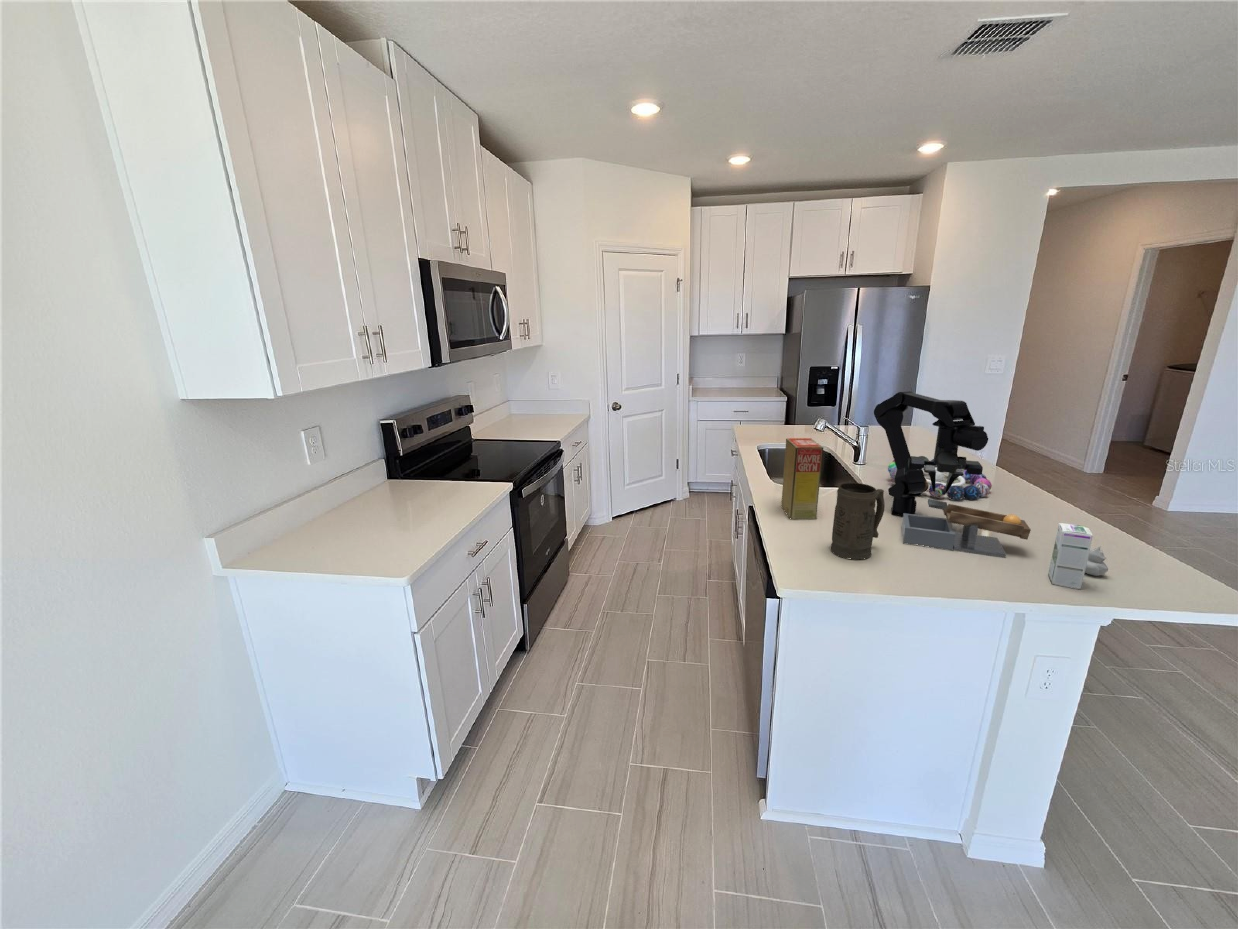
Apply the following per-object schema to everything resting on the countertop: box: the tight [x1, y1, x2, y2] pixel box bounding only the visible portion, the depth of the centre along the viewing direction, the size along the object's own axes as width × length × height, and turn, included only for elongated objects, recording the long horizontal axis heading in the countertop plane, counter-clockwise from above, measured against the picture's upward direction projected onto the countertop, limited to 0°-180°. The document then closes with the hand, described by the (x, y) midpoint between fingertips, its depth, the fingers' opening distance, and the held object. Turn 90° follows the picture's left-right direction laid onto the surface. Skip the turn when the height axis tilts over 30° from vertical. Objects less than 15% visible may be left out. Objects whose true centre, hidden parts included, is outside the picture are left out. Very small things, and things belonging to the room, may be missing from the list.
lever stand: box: [953, 524, 1007, 559], centre depth 145 cm, size 12×12×8 cm
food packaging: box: [780, 437, 824, 520], centre depth 171 cm, size 13×9×25 cm
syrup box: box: [1047, 522, 1094, 590], centre depth 124 cm, size 6×6×14 cm
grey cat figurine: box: [1085, 545, 1109, 577], centre depth 128 cm, size 5×7×8 cm
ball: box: [1003, 514, 1022, 525], centre depth 141 cm, size 4×4×4 cm
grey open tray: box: [900, 513, 956, 551], centre depth 151 cm, size 12×12×5 cm
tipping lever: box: [927, 498, 1032, 540], centre depth 148 cm, size 23×16×4 cm
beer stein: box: [830, 482, 885, 560], centre depth 143 cm, size 15×11×20 cm
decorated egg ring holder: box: [887, 455, 993, 501], centre depth 195 cm, size 35×35×9 cm
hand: (939, 491), depth 155 cm, fingers open, 3 cm apart
